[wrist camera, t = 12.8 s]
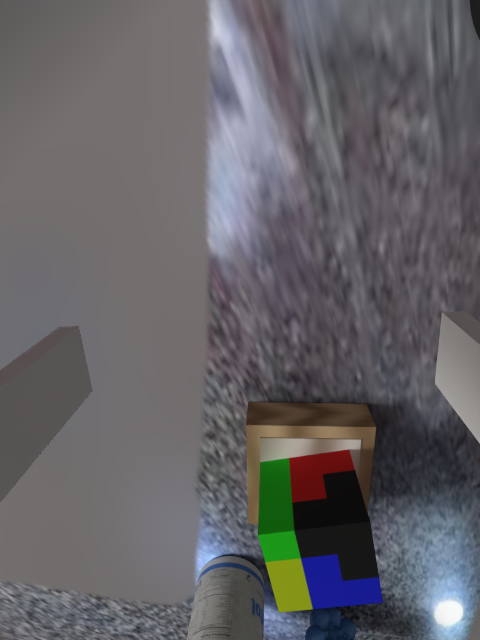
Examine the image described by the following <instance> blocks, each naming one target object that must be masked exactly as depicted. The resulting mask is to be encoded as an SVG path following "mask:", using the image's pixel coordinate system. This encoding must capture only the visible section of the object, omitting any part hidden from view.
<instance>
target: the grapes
mask: <svg viewBox="0 0 480 640" xmlns="http://www.w3.org/2000/svg"><path fill="white" fill-rule="evenodd" d="M310 624H311V626H310V627H309V628H308V629H307V631H306V635H305V640H353V639H354V637H355V634H356V626H355V623H354V622H353V621H351V620H350V619H347V618H342V619H341V612H340V611H339V609H337V608H336V607H331V608H325V609H324V610H323V609H314V610H313V611H312V612H311V616H310Z"/></svg>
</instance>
